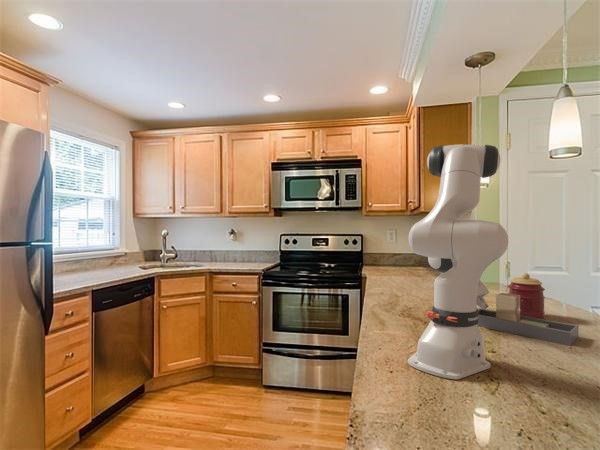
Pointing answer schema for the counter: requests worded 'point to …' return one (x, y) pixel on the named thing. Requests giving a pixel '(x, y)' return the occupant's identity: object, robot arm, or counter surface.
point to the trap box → (530, 327)
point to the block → (508, 306)
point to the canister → (528, 295)
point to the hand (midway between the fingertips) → (485, 308)
